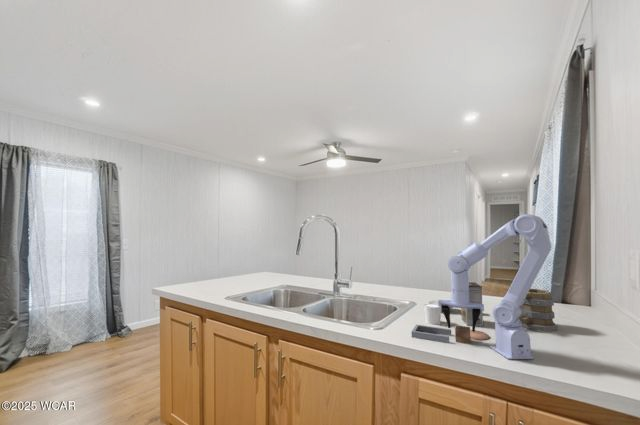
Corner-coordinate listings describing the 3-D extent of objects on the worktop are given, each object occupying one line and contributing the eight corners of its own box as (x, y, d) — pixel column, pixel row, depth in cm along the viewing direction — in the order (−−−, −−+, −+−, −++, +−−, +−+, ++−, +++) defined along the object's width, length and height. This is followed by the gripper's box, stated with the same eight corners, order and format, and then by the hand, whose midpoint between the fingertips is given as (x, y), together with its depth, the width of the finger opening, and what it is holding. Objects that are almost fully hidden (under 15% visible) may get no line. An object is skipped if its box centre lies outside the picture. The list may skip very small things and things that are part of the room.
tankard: (531, 319, 126) (529, 284, 127) (564, 328, 114) (561, 289, 115) (497, 325, 119) (495, 287, 120) (528, 335, 107) (526, 293, 108)
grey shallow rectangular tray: (451, 334, 108) (451, 329, 108) (449, 343, 100) (448, 337, 101) (416, 329, 114) (416, 324, 114) (411, 337, 106) (411, 331, 106)
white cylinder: (423, 323, 122) (422, 306, 122) (425, 319, 128) (425, 302, 128) (440, 325, 119) (440, 308, 119) (442, 321, 125) (442, 304, 125)
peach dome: (494, 339, 103) (494, 338, 103) (468, 340, 103) (468, 338, 103) (480, 331, 112) (479, 329, 112) (456, 331, 112) (456, 329, 112)
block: (470, 340, 103) (470, 327, 104) (470, 344, 99) (469, 330, 100) (456, 338, 105) (456, 325, 106) (455, 342, 101) (455, 328, 102)
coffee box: (460, 319, 128) (459, 281, 129) (476, 319, 126) (475, 282, 127) (466, 325, 119) (465, 285, 120) (484, 326, 117) (482, 286, 118)
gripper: (483, 289, 104) (484, 328, 103) (439, 286, 111) (440, 322, 110) (483, 293, 98) (485, 335, 97) (437, 289, 104) (438, 328, 104)
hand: (461, 329), depth 103 cm, fingers open, 7 cm apart
